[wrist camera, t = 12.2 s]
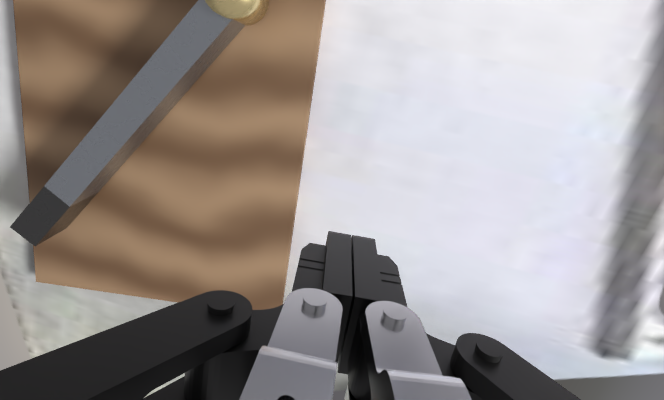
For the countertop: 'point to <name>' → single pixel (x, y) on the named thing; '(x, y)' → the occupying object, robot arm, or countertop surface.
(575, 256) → the countertop surface
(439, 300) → the countertop surface
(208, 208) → the board
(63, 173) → the lever
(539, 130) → the countertop surface
